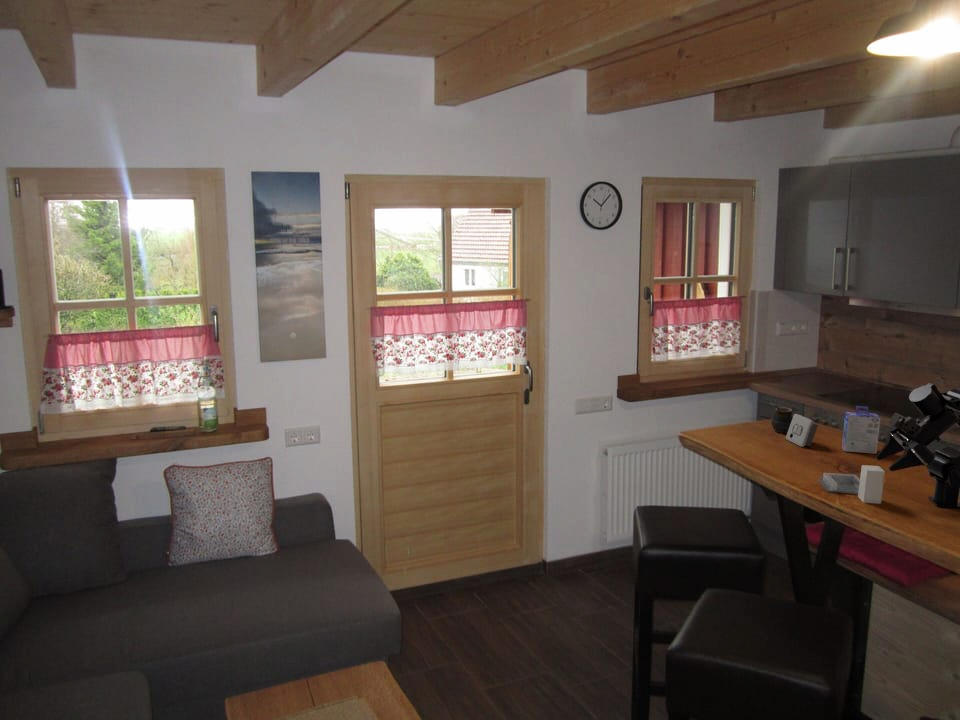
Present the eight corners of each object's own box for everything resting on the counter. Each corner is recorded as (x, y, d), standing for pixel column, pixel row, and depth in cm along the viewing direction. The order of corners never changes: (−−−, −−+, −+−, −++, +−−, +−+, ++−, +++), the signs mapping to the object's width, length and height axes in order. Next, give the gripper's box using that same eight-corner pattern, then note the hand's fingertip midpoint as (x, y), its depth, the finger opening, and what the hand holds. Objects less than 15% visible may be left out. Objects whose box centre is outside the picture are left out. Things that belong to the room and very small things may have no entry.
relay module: (882, 503, 210) (886, 471, 208) (863, 502, 210) (867, 470, 209) (876, 497, 214) (880, 466, 212) (857, 496, 215) (861, 465, 213)
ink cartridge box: (872, 449, 257) (878, 406, 254) (877, 454, 252) (883, 410, 249) (840, 446, 259) (845, 404, 256) (844, 452, 254) (849, 408, 251)
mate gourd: (797, 432, 275) (800, 404, 272) (783, 435, 271) (786, 407, 269) (780, 427, 281) (782, 400, 278) (766, 430, 277) (768, 403, 275)
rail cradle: (870, 495, 216) (871, 486, 215) (828, 492, 217) (828, 483, 217) (858, 482, 226) (859, 474, 225) (818, 479, 227) (818, 471, 227)
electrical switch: (784, 439, 266) (789, 413, 265) (798, 440, 267) (803, 413, 266) (801, 448, 257) (807, 420, 256) (815, 448, 258) (820, 421, 257)
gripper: (898, 395, 215) (851, 432, 218) (927, 413, 197) (876, 453, 200) (925, 425, 215) (878, 461, 219) (957, 445, 197) (905, 484, 201)
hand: (883, 464), depth 210 cm, fingers open, 9 cm apart
